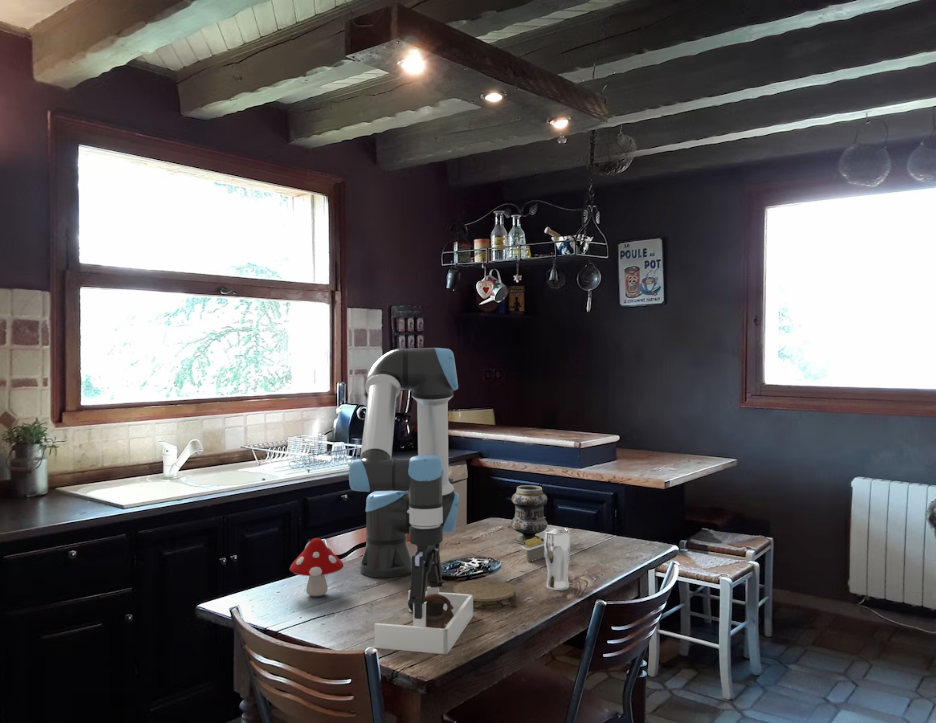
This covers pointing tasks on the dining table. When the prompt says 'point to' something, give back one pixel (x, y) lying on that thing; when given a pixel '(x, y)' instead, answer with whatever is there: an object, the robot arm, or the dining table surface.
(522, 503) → the apothecary jar
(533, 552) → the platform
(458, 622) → the bin
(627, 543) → the dining table surface
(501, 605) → the wood slice
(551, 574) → the beer glass
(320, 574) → the decorative mushroom
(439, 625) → the pottery mug
